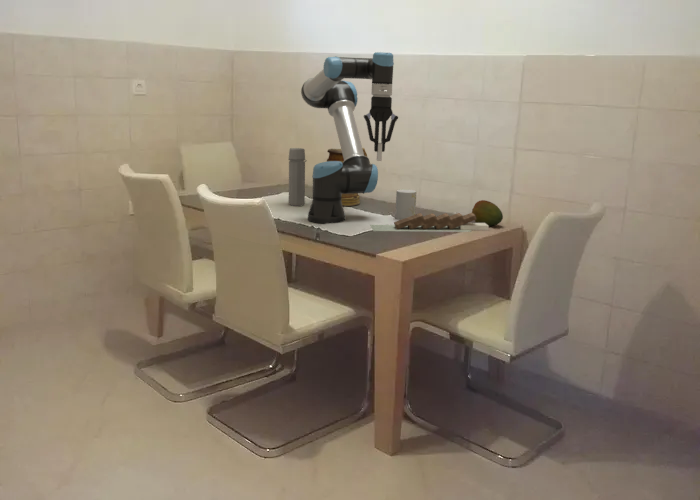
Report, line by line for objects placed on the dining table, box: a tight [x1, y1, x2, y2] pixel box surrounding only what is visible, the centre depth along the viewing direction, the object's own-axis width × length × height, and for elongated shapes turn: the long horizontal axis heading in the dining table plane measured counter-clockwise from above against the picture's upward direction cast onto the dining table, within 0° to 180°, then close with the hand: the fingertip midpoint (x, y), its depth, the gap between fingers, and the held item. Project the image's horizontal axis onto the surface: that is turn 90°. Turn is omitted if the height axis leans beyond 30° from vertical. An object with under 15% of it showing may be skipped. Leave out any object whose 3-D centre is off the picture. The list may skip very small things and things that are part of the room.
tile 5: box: [447, 212, 476, 229], centre depth 264 cm, size 2×5×11 cm
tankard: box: [326, 147, 368, 207], centre depth 310 cm, size 18×24×25 cm
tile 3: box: [421, 212, 450, 229], centre depth 263 cm, size 2×5×11 cm
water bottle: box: [288, 147, 307, 207], centre depth 301 cm, size 9×8×25 cm
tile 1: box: [393, 212, 424, 229], centre depth 262 cm, size 2×5×11 cm
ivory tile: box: [458, 222, 490, 231], centre depth 265 cm, size 2×5×11 cm
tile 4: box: [434, 212, 464, 230], centre depth 264 cm, size 2×5×11 cm
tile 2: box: [408, 213, 437, 230], centre depth 263 cm, size 2×5×11 cm
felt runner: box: [369, 224, 472, 233], centre depth 264 cm, size 38×11×1 cm, turn 96°
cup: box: [394, 188, 418, 221], centre depth 279 cm, size 8×8×12 cm
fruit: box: [471, 199, 504, 227], centre depth 273 cm, size 12×12×10 cm
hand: (379, 160), depth 255 cm, fingers closed
